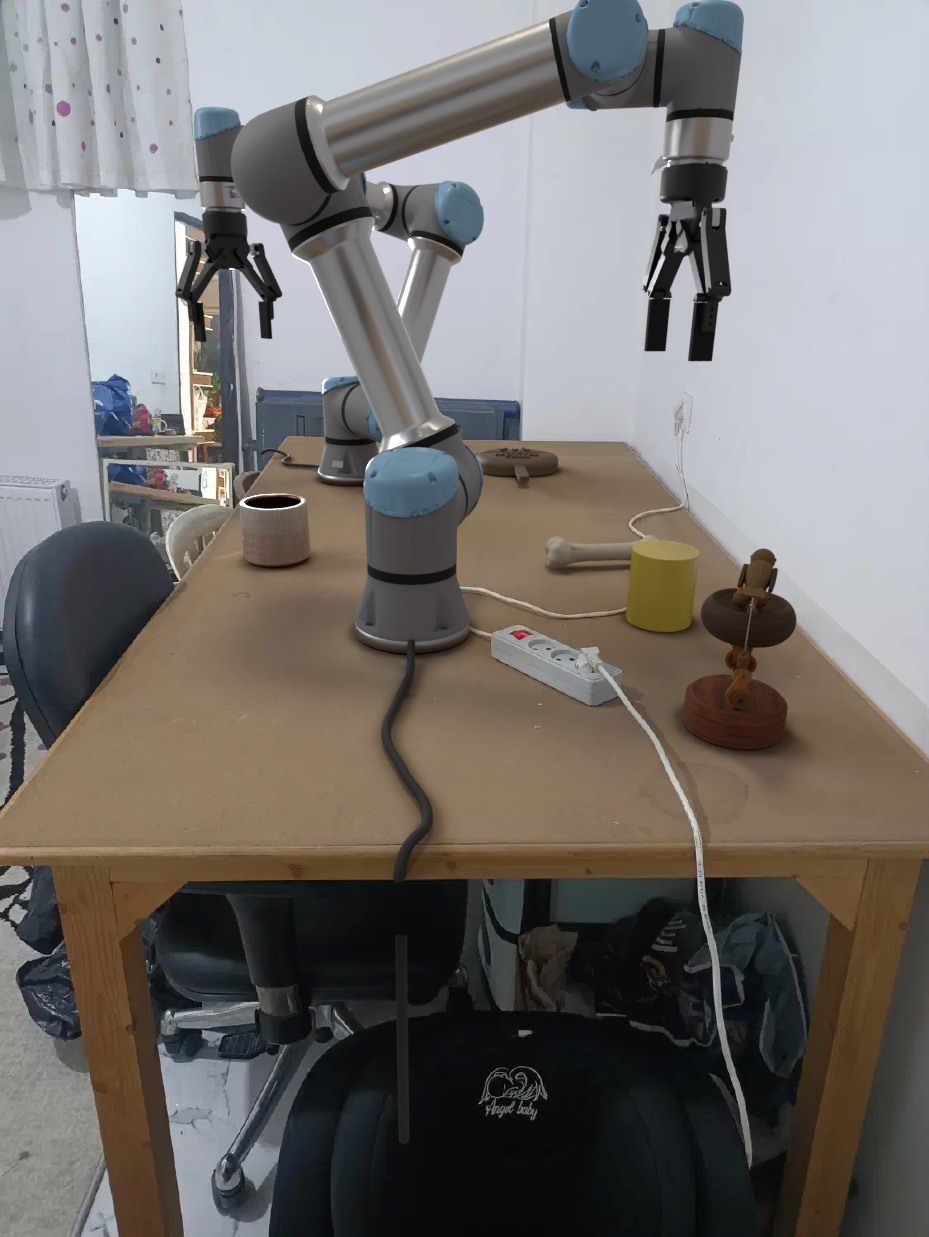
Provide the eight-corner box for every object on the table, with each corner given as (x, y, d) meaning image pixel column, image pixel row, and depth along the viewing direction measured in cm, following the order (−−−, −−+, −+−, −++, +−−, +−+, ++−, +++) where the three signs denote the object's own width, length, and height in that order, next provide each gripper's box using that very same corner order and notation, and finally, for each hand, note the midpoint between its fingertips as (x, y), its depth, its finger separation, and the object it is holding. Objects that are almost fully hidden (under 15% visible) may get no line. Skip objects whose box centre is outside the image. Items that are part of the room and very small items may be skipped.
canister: (700, 617, 119) (709, 548, 116) (676, 637, 113) (685, 564, 109) (641, 603, 124) (648, 536, 120) (615, 622, 117) (621, 551, 113)
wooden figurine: (804, 761, 84) (822, 570, 76) (690, 761, 85) (697, 574, 78) (770, 691, 98) (782, 524, 90) (673, 692, 99) (677, 527, 92)
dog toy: (655, 557, 144) (658, 529, 142) (669, 569, 138) (672, 539, 136) (540, 562, 140) (541, 533, 139) (549, 574, 135) (551, 544, 133)
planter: (241, 550, 144) (236, 495, 140) (306, 545, 147) (302, 491, 143) (246, 570, 134) (241, 512, 130) (314, 565, 137) (311, 507, 133)
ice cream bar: (477, 487, 188) (478, 469, 187) (471, 461, 214) (471, 445, 212) (571, 488, 189) (572, 469, 188) (553, 462, 215) (554, 445, 213)
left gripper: (166, 206, 136) (181, 344, 144) (296, 215, 152) (303, 338, 160) (145, 208, 141) (160, 341, 149) (273, 216, 157) (280, 336, 165)
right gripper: (781, 153, 87) (752, 365, 96) (680, 177, 110) (664, 347, 118) (714, 150, 86) (690, 366, 94) (625, 175, 109) (613, 347, 117)
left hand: (234, 340), depth 155 cm, fingers open, 13 cm apart
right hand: (676, 356), depth 106 cm, fingers open, 13 cm apart
